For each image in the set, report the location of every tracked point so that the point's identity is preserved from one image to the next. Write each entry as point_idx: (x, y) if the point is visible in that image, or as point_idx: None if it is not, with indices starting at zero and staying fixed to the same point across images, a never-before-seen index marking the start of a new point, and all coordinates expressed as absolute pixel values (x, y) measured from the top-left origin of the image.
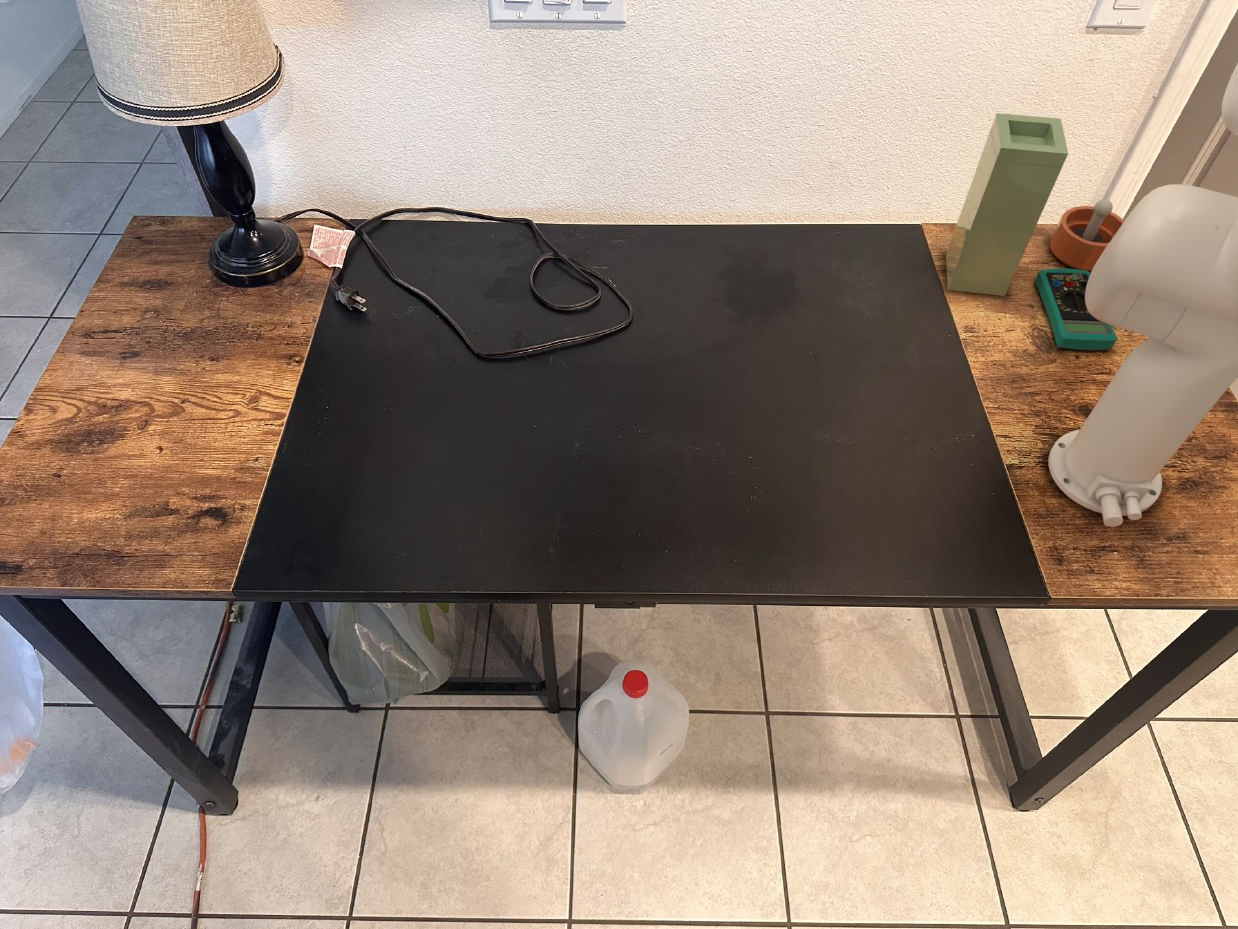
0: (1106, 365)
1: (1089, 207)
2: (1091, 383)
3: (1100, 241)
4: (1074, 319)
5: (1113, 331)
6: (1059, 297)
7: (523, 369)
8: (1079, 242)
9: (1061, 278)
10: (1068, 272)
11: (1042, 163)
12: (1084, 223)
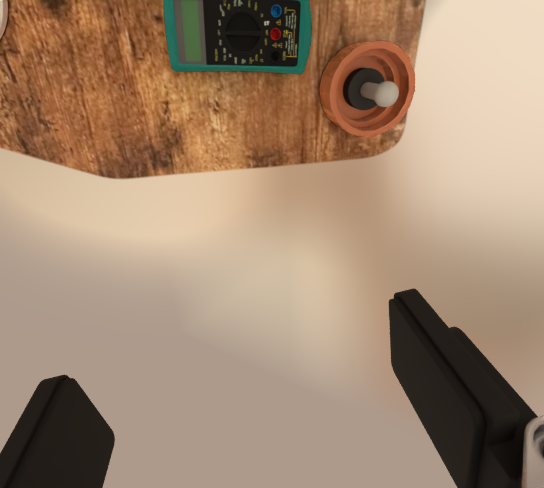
0: (149, 57)
1: (410, 95)
2: (110, 24)
3: (358, 105)
4: (203, 17)
5: (182, 66)
6: (247, 6)
7: None
8: (342, 58)
9: (288, 23)
10: (299, 38)
11: None
12: None
